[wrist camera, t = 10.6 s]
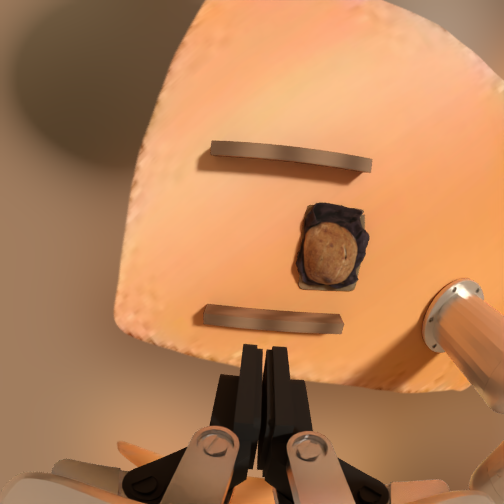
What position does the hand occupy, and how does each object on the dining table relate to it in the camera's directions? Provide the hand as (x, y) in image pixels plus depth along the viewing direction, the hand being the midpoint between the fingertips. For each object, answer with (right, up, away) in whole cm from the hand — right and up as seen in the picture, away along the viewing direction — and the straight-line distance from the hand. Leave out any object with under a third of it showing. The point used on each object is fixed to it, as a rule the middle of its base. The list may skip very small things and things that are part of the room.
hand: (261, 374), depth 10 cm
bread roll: (+9, +5, +23) cm, 25 cm away
